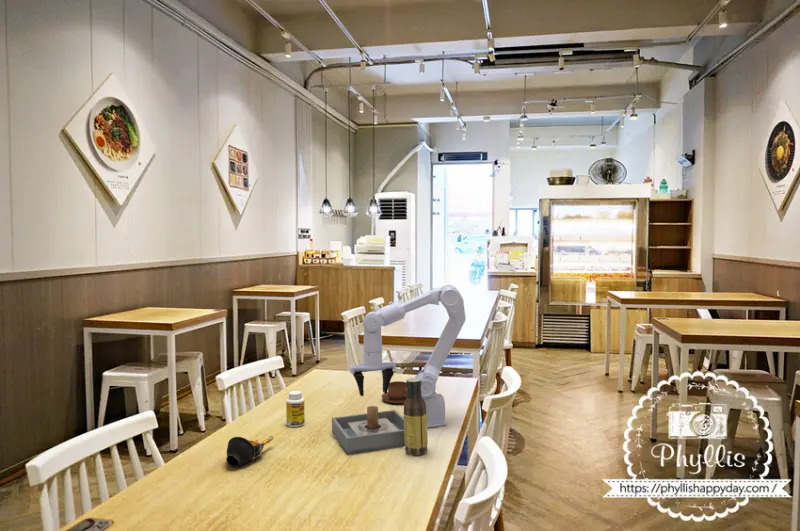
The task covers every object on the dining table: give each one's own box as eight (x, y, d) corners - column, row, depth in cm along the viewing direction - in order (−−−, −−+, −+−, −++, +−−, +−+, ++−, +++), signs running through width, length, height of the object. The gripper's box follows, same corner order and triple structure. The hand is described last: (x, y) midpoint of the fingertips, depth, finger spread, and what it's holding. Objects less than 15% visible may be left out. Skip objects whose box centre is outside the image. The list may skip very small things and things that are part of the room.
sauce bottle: (420, 445, 149) (420, 375, 148) (431, 453, 143) (431, 380, 142) (400, 449, 146) (399, 377, 145) (410, 458, 140) (409, 383, 139)
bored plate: (385, 425, 162) (385, 417, 162) (399, 439, 151) (399, 430, 151) (347, 430, 158) (347, 422, 158) (358, 445, 147) (358, 436, 147)
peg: (376, 432, 156) (376, 405, 156) (379, 436, 153) (379, 408, 153) (365, 433, 155) (365, 406, 155) (369, 437, 152) (368, 410, 152)
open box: (394, 424, 166) (394, 410, 166) (416, 444, 149) (416, 428, 149) (331, 432, 159) (331, 417, 159) (347, 455, 143) (346, 438, 142)
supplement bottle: (290, 429, 163) (290, 396, 162) (283, 424, 167) (283, 391, 167) (307, 425, 166) (307, 393, 165) (300, 420, 170) (300, 389, 170)
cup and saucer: (421, 399, 193) (421, 382, 193) (403, 408, 183) (403, 390, 183) (393, 394, 199) (393, 378, 199) (374, 402, 189) (374, 385, 189)
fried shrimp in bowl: (212, 453, 134) (242, 415, 148) (232, 482, 136) (260, 442, 150) (236, 446, 131) (264, 407, 145) (256, 475, 134) (282, 435, 148)
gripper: (390, 346, 172) (391, 388, 173) (347, 350, 167) (347, 393, 168) (398, 350, 166) (398, 394, 166) (352, 354, 161) (353, 399, 161)
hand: (373, 393), depth 167 cm, fingers open, 7 cm apart
